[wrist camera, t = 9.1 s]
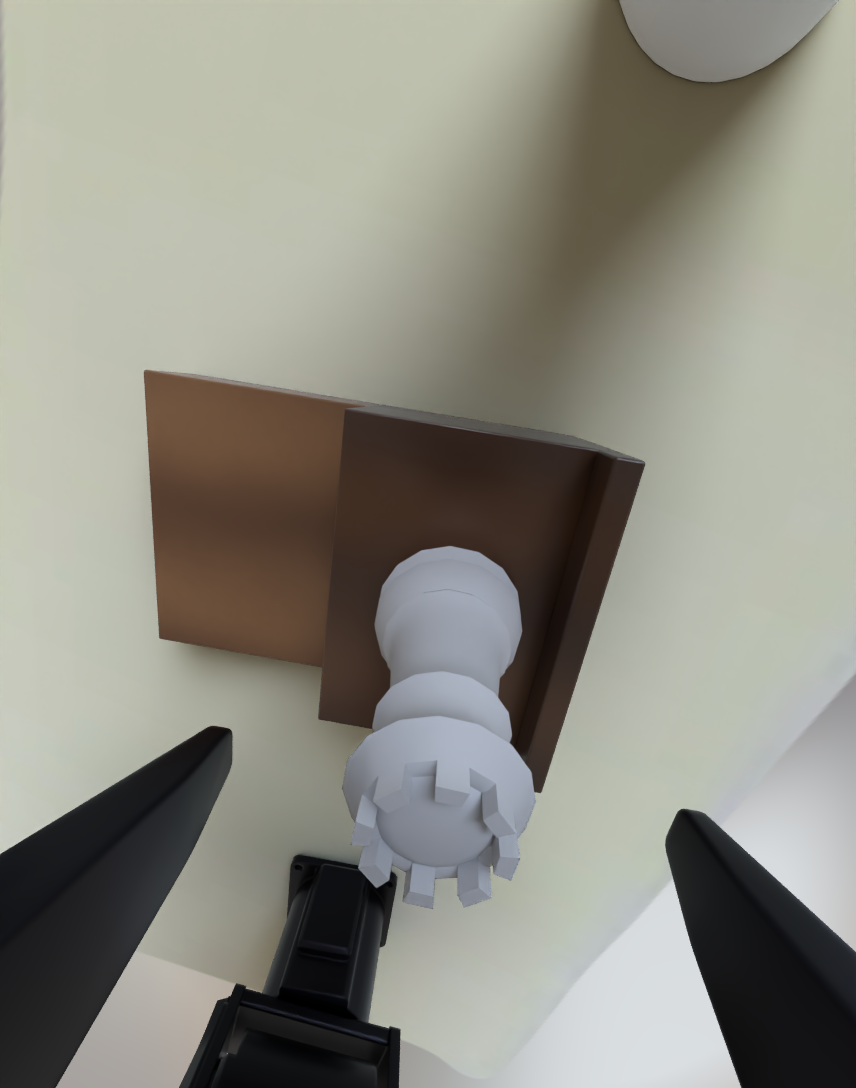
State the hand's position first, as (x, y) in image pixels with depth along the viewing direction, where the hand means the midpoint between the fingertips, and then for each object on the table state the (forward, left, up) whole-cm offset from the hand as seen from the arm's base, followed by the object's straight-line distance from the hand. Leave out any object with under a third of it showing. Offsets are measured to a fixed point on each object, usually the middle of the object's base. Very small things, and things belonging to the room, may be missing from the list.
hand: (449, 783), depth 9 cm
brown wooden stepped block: (+1, +4, -12) cm, 13 cm away
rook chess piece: (+1, 0, -6) cm, 6 cm away
